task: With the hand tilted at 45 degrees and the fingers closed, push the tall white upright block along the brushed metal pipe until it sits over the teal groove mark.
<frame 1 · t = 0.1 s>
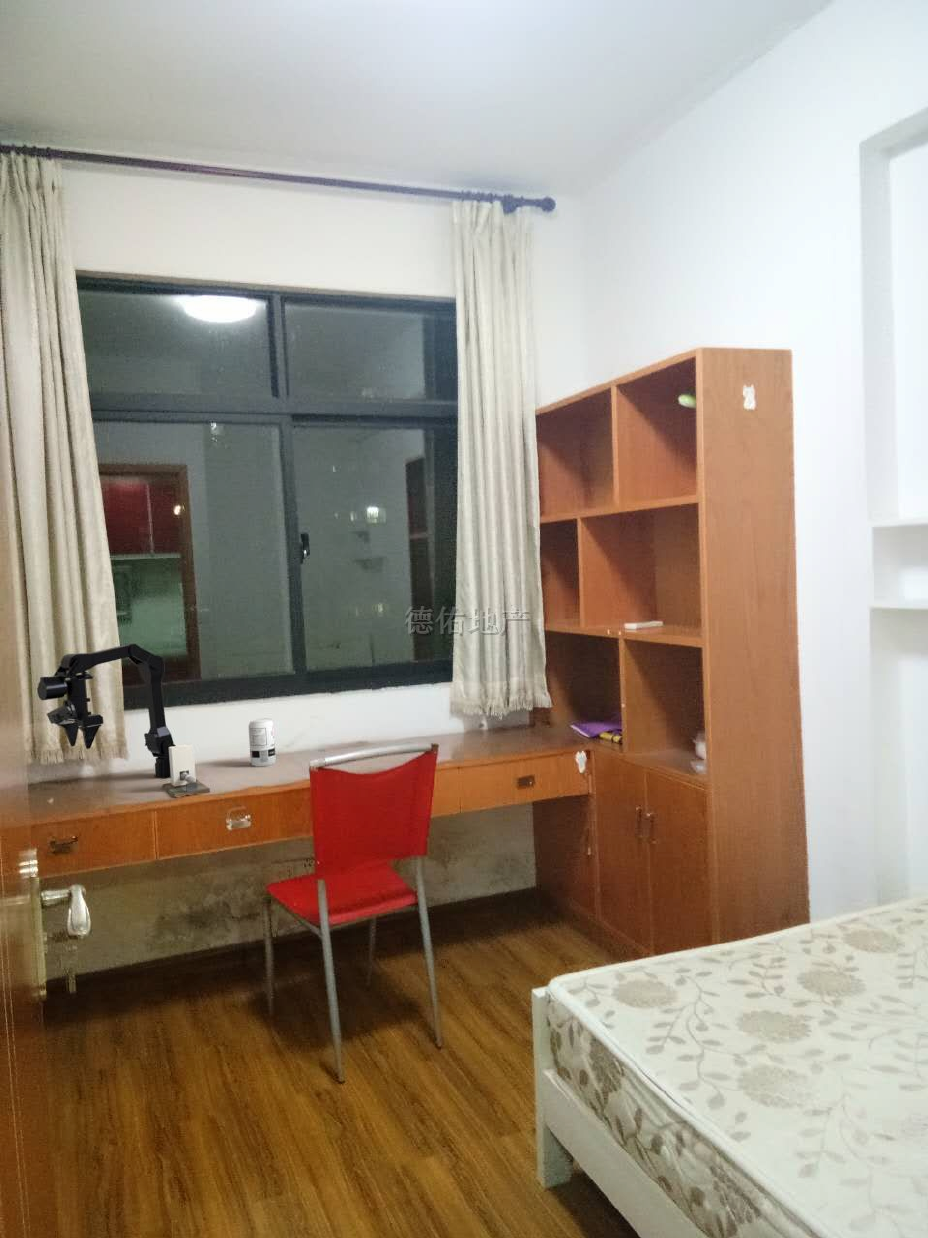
hand: (80, 747, 262), 15 cm above the table, tool pointing down, fingers open, 9 cm apart
white upright block: (182, 765, 266), point 7 cm above the table, slide at 0.0 cm
supplement can: (263, 765, 295), on the table
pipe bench: (185, 789, 264), on the table
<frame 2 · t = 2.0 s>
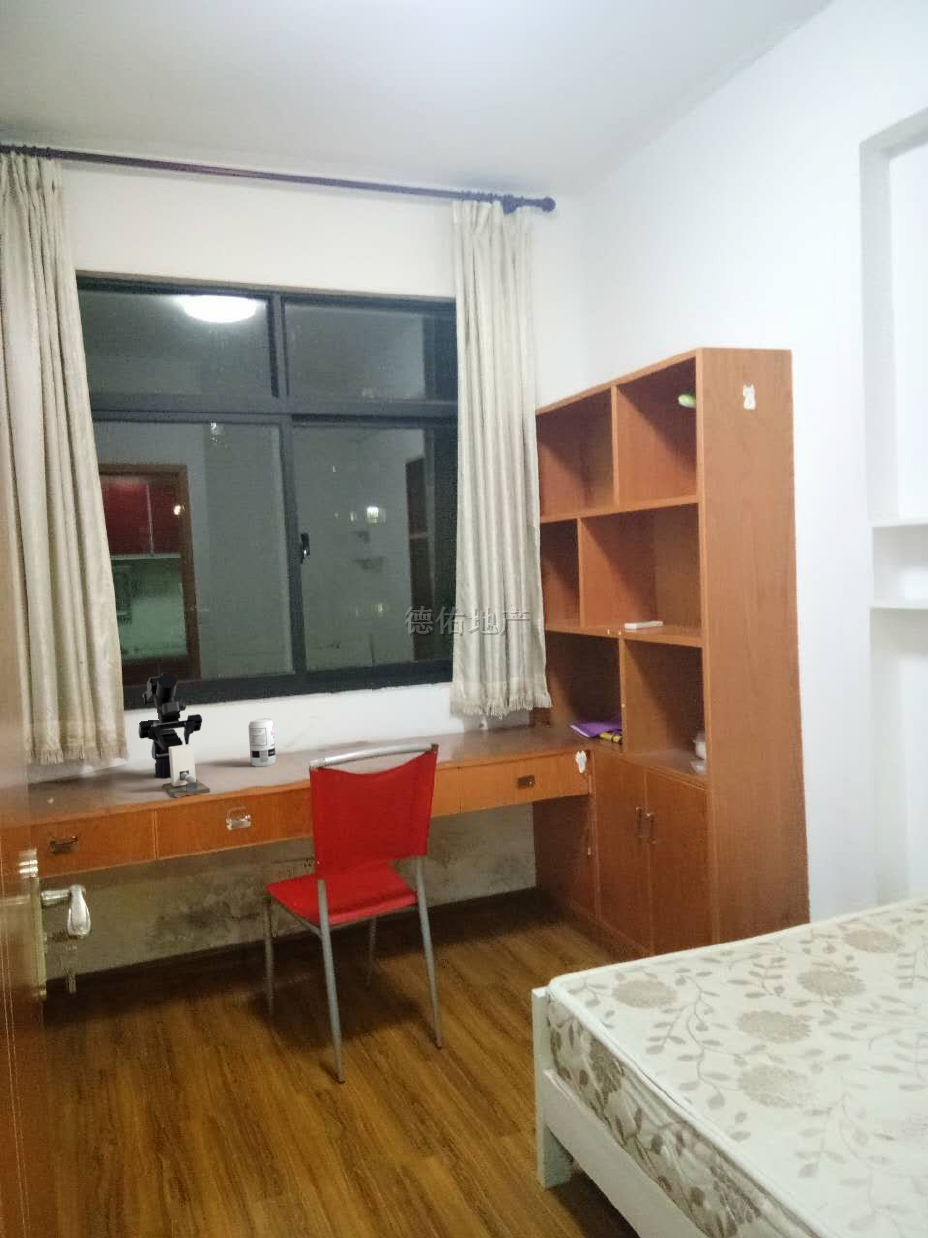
hand: (176, 747, 271), 12 cm above the table, tool tilted 45°, fingers open, 7 cm apart
nothing on the table moved.
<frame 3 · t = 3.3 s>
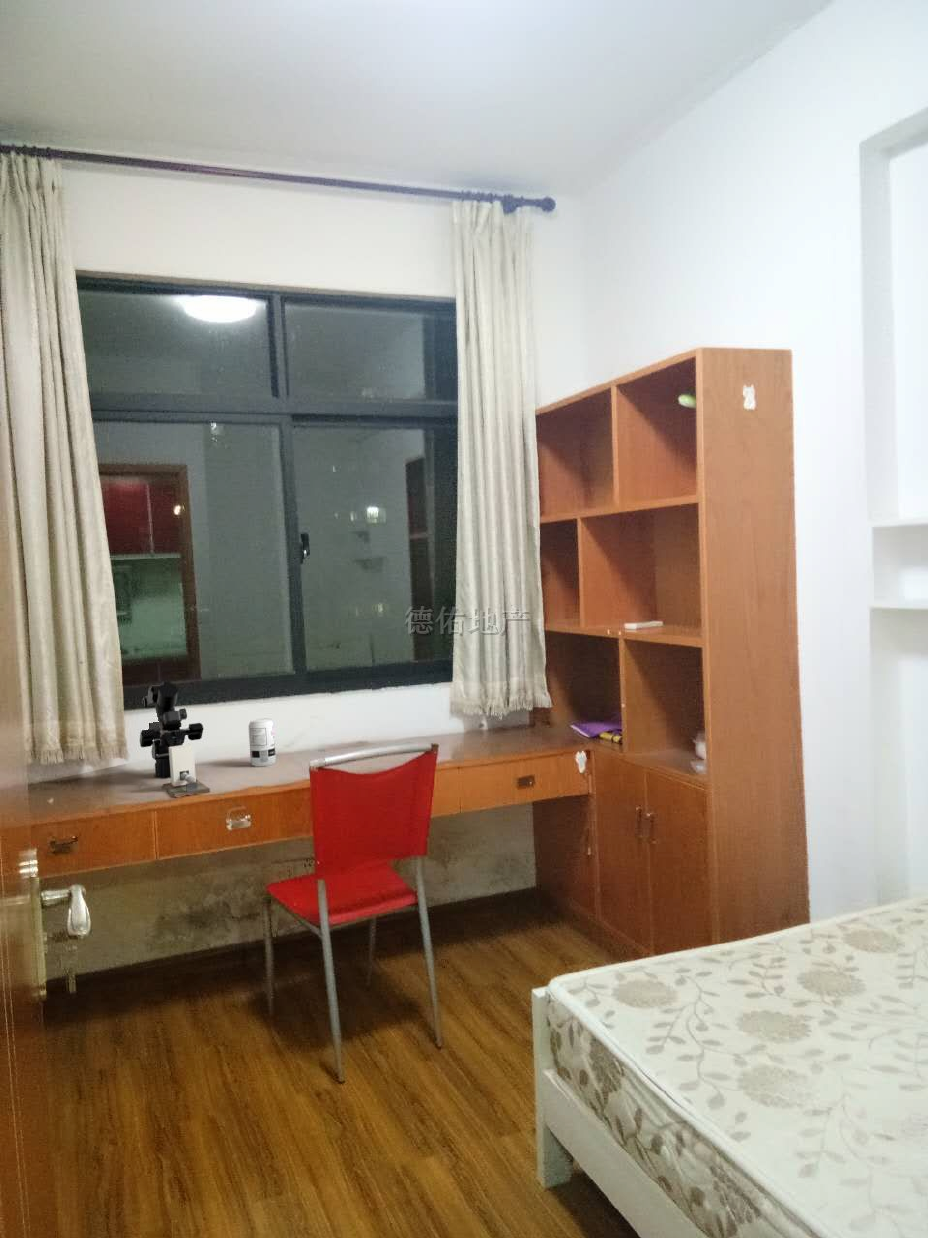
hand: (177, 756, 271), 9 cm above the table, tool tilted 45°, fingers closed
nothing on the table moved.
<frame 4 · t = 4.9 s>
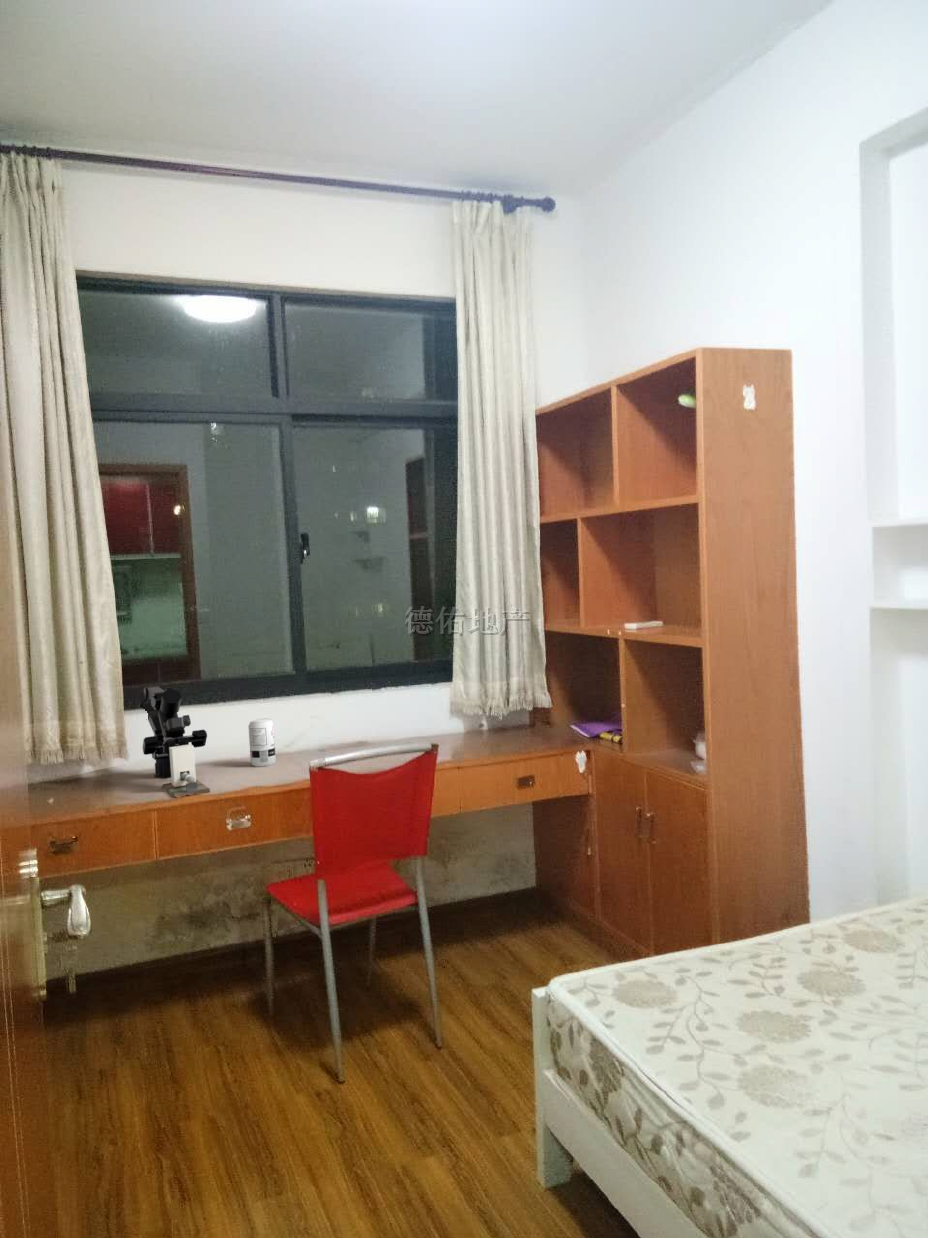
hand: (180, 763, 267), 7 cm above the table, tool tilted 45°, fingers closed, pressing on white upright block
white upright block: (182, 765, 265), point 7 cm above the table, slide at 0.6 cm, touching gripper
everything else where it was.
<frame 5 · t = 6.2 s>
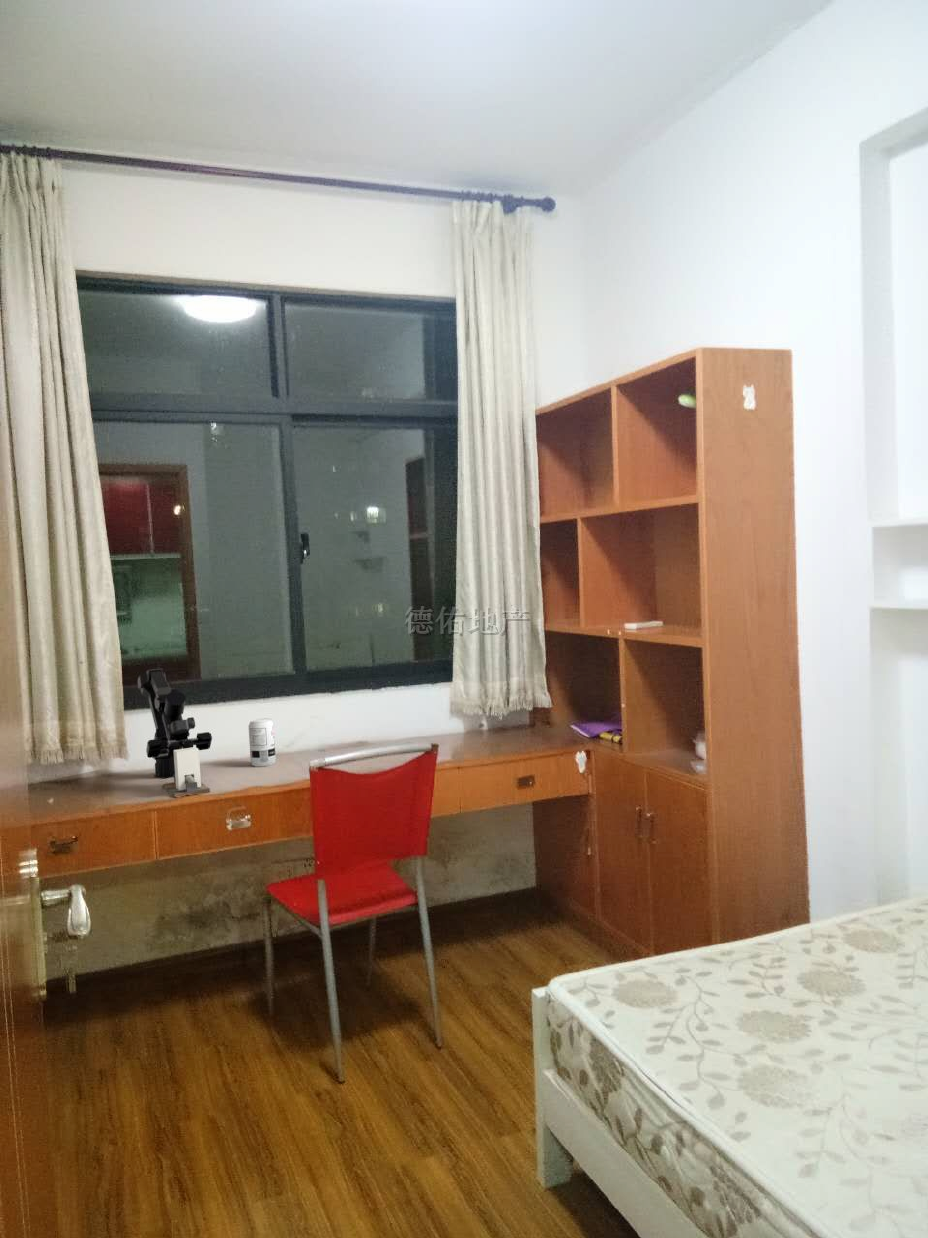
hand: (185, 767, 262), 7 cm above the table, tool tilted 45°, fingers closed, pressing on white upright block
white upright block: (187, 768, 260), point 7 cm above the table, slide at 6.5 cm, touching gripper
everything else where it was.
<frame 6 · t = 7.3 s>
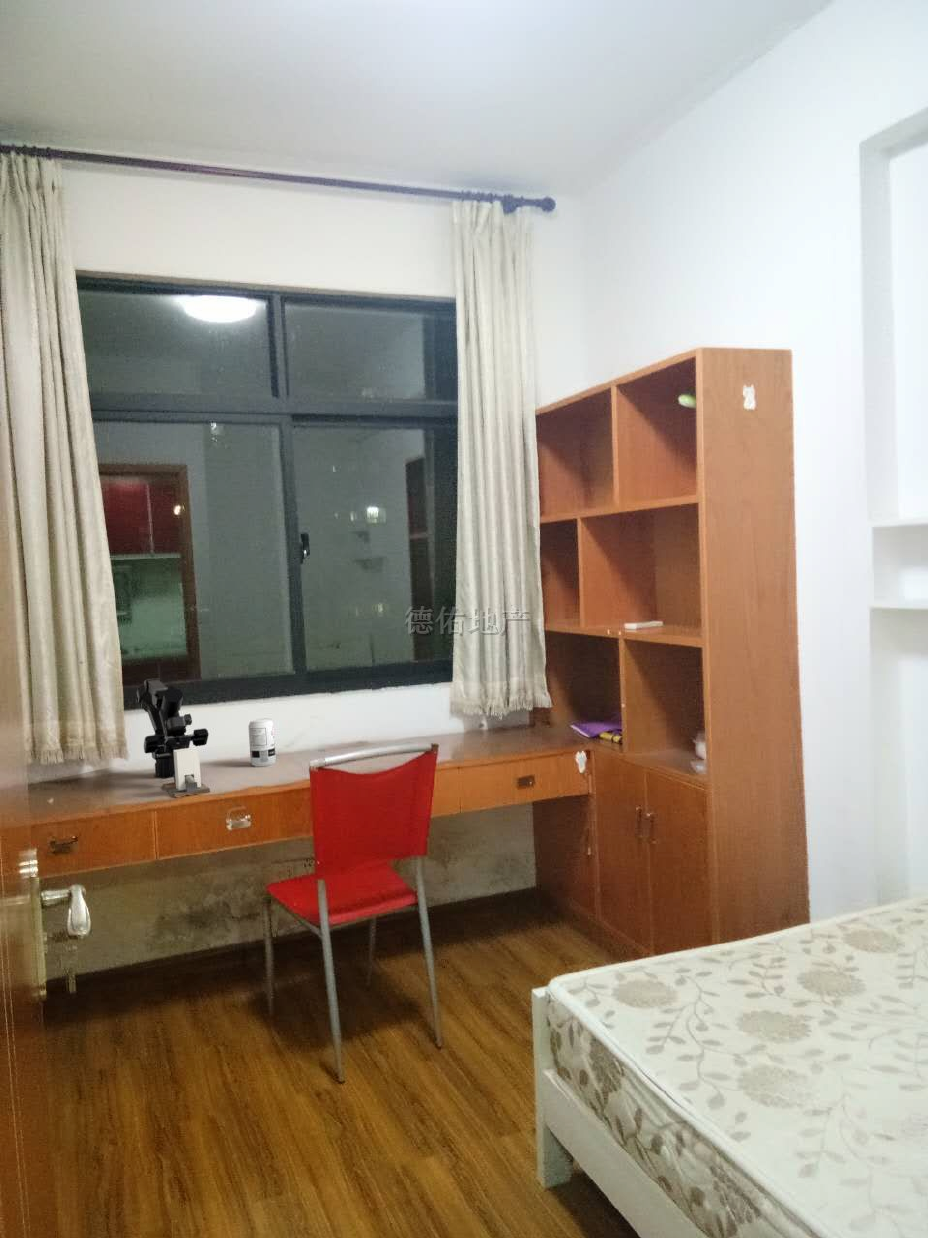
hand: (182, 763, 266), 8 cm above the table, tool tilted 45°, fingers closed
white upright block: (187, 768, 260), point 7 cm above the table, slide at 6.5 cm
everything else where it was.
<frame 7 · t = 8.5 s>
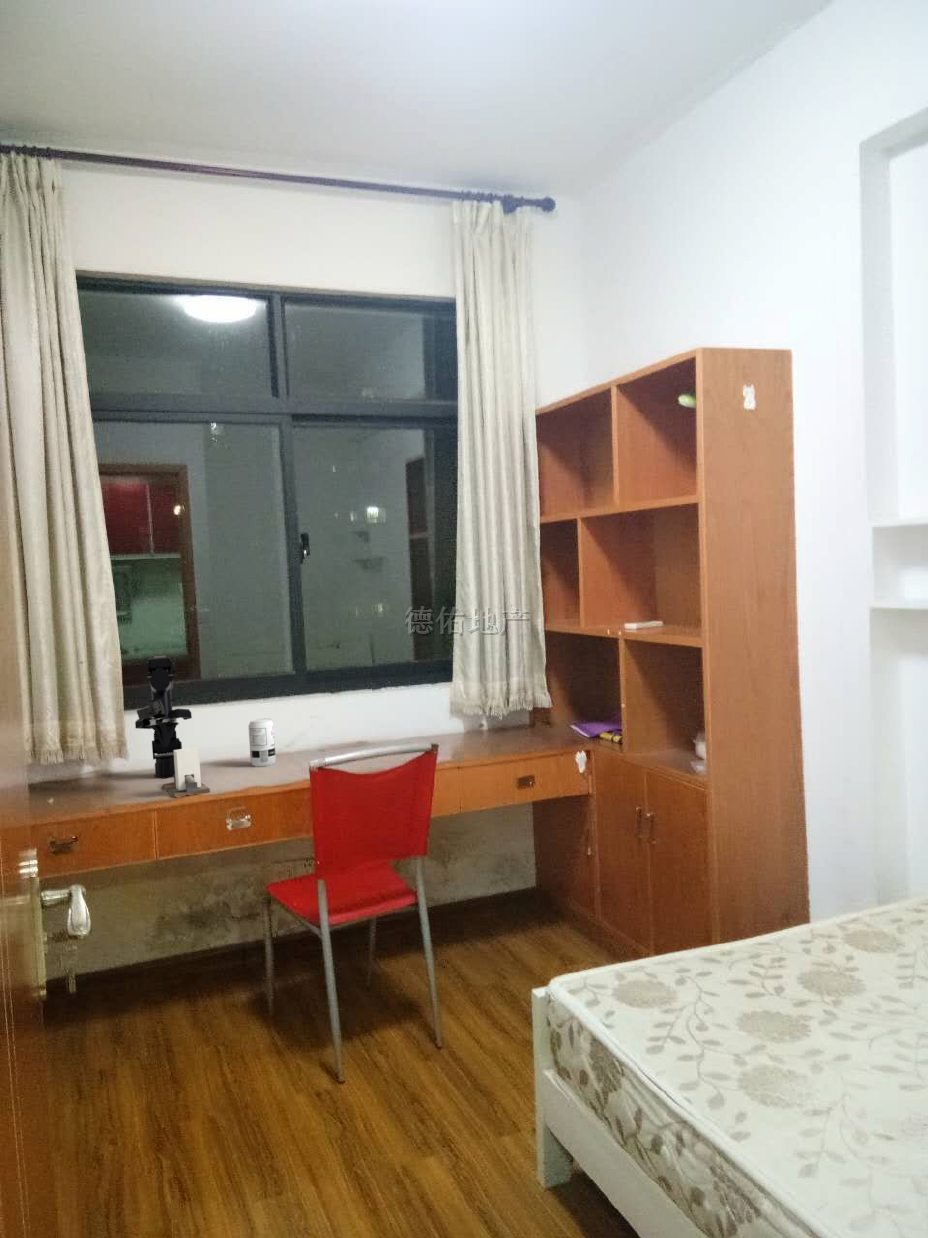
hand: (165, 747, 267), 13 cm above the table, tool tilted 15°, fingers closed
nothing on the table moved.
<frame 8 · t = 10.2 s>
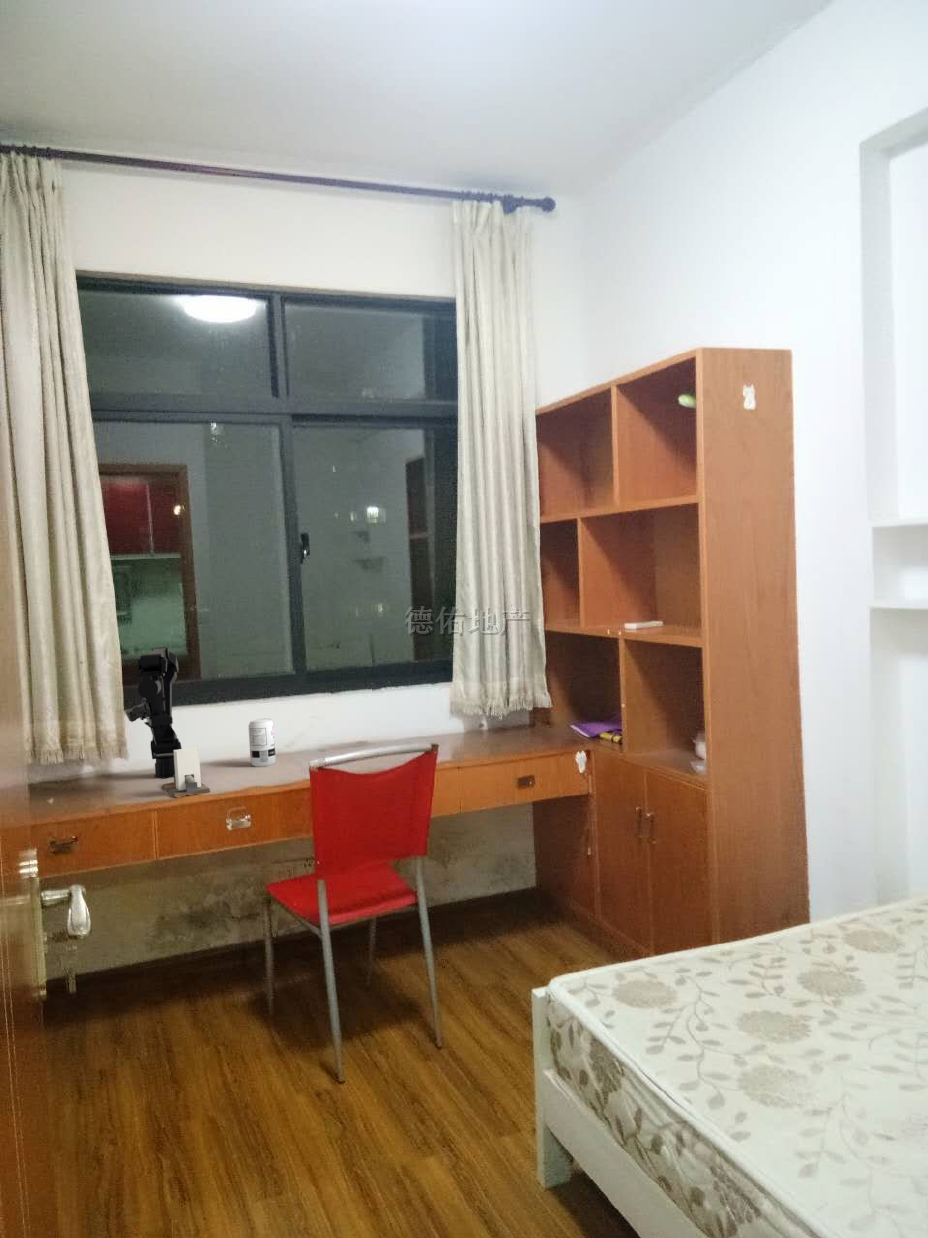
hand: (157, 745, 269), 13 cm above the table, tool pointing down, fingers closed
nothing on the table moved.
at the end: white upright block slide at 6.5 cm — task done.
